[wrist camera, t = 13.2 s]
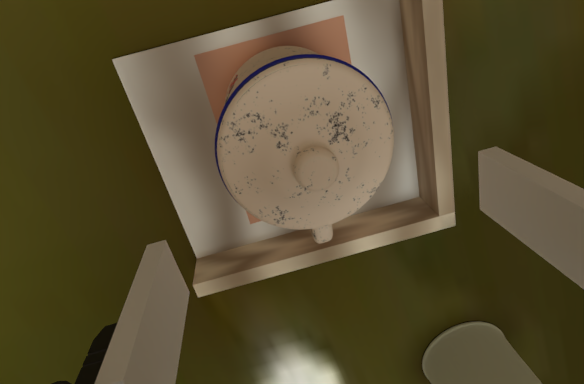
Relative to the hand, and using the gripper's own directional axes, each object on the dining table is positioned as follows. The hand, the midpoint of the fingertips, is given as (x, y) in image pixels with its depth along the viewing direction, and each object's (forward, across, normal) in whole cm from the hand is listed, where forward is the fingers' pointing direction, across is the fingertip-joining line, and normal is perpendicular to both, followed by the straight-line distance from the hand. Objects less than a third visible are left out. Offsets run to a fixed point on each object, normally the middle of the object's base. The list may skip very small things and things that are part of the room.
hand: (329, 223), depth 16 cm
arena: (+14, 0, -1) cm, 14 cm away
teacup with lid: (+13, 0, 0) cm, 13 cm away
